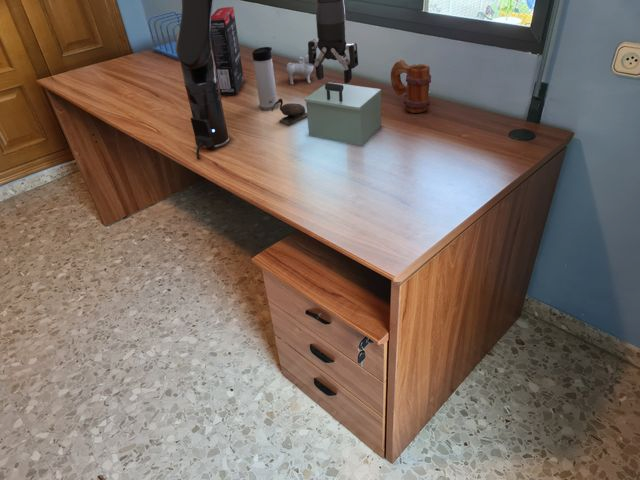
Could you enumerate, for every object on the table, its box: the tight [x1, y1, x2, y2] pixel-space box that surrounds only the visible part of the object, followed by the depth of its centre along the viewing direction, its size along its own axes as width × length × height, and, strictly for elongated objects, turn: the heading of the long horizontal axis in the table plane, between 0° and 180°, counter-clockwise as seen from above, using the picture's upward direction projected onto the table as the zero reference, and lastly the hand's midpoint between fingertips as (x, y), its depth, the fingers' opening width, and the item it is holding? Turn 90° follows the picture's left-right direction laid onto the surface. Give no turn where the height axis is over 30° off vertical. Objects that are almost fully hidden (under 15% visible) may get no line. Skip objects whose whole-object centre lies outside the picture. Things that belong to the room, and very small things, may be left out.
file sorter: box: [147, 11, 182, 61], centre depth 224 cm, size 25×17×15 cm
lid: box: [303, 81, 382, 110], centre depth 139 cm, size 15×18×6 cm
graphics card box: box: [210, 6, 245, 96], centre depth 176 cm, size 17×7×27 cm, turn 178°
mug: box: [390, 59, 432, 114], centre depth 154 cm, size 15×8×15 cm, turn 47°
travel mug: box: [251, 46, 279, 111], centre depth 161 cm, size 6×7×20 cm
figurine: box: [271, 98, 308, 127], centre depth 154 cm, size 14×4×9 cm, turn 136°
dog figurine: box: [285, 53, 315, 85], centre depth 182 cm, size 5×13×11 cm, turn 95°
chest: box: [305, 91, 382, 147], centre depth 145 cm, size 14×18×11 cm
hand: (333, 80), depth 134 cm, fingers open, 8 cm apart
